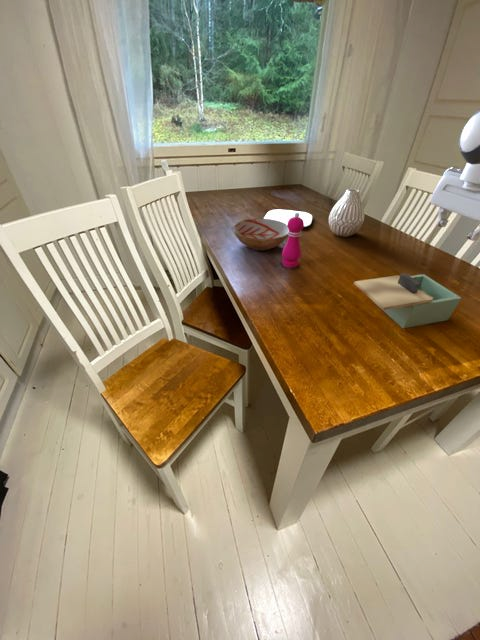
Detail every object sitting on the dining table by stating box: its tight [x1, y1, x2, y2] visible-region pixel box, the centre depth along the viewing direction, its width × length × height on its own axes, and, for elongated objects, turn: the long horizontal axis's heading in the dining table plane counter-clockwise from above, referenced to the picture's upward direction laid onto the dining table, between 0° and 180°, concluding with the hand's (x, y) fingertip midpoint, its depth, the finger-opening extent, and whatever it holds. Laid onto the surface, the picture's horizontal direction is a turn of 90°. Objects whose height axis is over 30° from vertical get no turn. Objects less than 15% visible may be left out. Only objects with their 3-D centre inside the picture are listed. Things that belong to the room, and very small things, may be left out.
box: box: [372, 273, 462, 329], centre depth 83 cm, size 14×16×8 cm
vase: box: [328, 188, 365, 238], centre depth 128 cm, size 16×16×20 cm
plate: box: [263, 209, 313, 228], centre depth 148 cm, size 25×25×2 cm
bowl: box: [232, 217, 289, 252], centre depth 120 cm, size 25×25×8 cm
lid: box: [353, 272, 433, 311], centre depth 77 cm, size 14×16×4 cm
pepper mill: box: [281, 213, 305, 268], centre depth 103 cm, size 7×7×20 cm
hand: (455, 232), depth 70 cm, fingers open, 8 cm apart
